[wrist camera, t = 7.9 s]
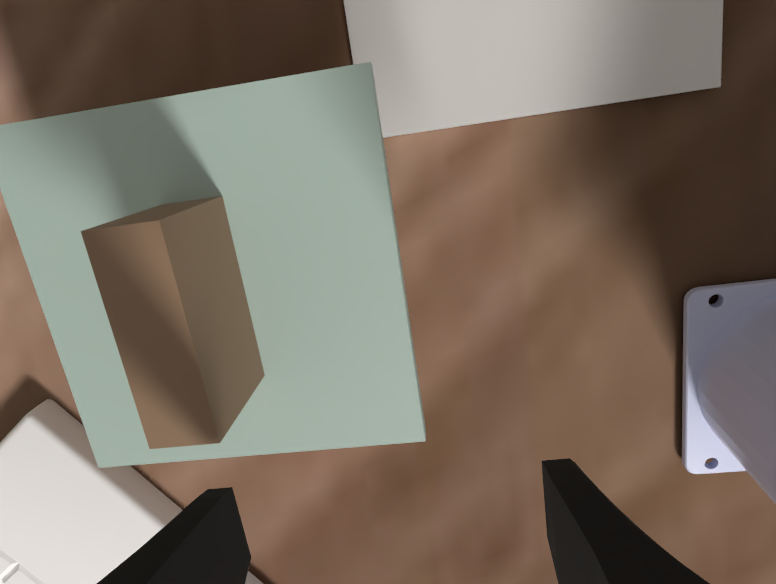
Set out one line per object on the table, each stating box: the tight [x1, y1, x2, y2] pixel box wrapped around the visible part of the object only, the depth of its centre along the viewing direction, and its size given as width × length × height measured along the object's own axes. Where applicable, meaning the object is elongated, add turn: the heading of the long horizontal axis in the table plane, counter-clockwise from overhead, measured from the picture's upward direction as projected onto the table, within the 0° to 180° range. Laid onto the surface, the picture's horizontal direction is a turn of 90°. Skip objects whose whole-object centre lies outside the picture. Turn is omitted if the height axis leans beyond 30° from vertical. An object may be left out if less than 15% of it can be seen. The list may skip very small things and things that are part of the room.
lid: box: [0, 62, 426, 468], centre depth 16 cm, size 12×12×5 cm
